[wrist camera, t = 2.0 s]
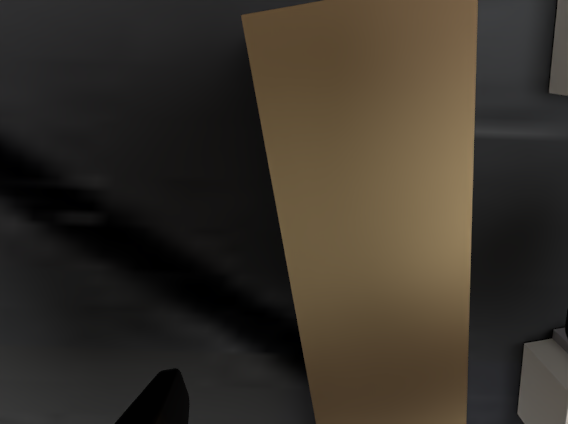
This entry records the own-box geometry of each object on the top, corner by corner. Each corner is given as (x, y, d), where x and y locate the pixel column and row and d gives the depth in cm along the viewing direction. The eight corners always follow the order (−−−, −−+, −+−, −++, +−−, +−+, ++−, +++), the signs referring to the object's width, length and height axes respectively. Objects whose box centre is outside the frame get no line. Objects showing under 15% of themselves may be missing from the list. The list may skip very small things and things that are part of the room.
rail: (398, 418, 15) (461, 584, 10) (321, 431, 15) (349, 602, 10) (372, 11, 9) (478, -27, 5) (250, 32, 9) (240, 14, 5)
